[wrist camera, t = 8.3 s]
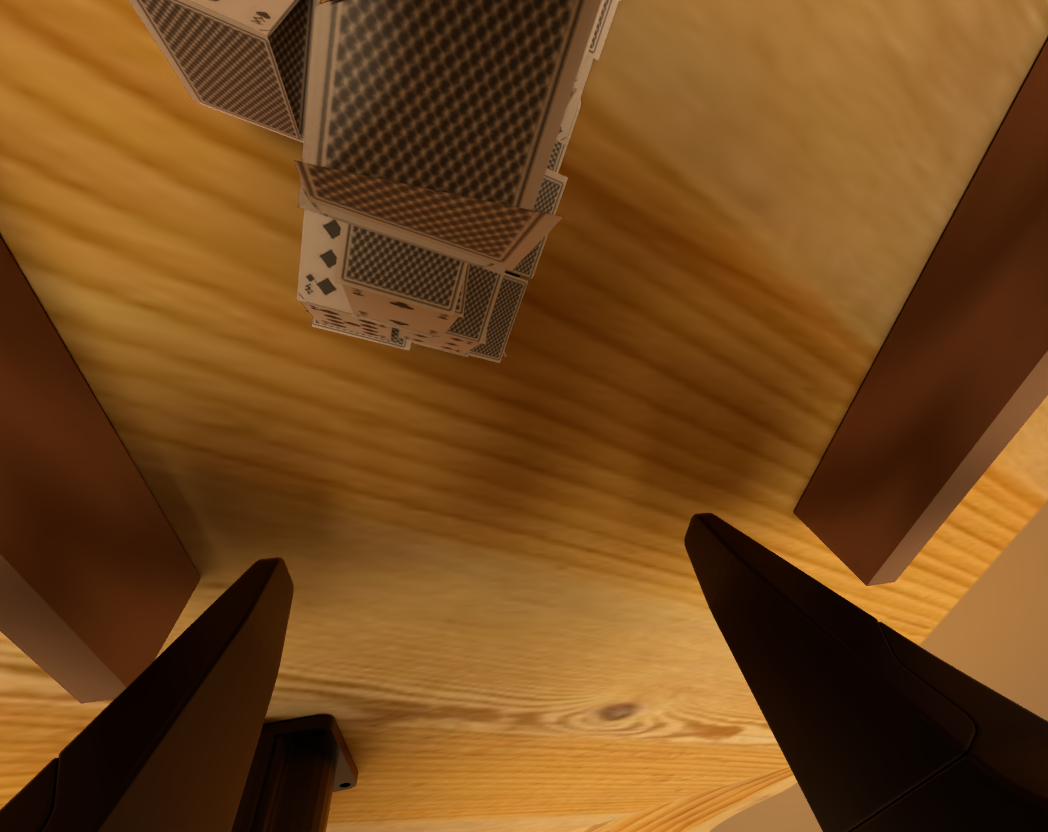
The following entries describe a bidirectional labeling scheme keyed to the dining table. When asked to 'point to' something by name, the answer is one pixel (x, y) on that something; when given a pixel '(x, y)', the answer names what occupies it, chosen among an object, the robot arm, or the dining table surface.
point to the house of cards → (404, 144)
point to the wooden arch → (826, 509)
